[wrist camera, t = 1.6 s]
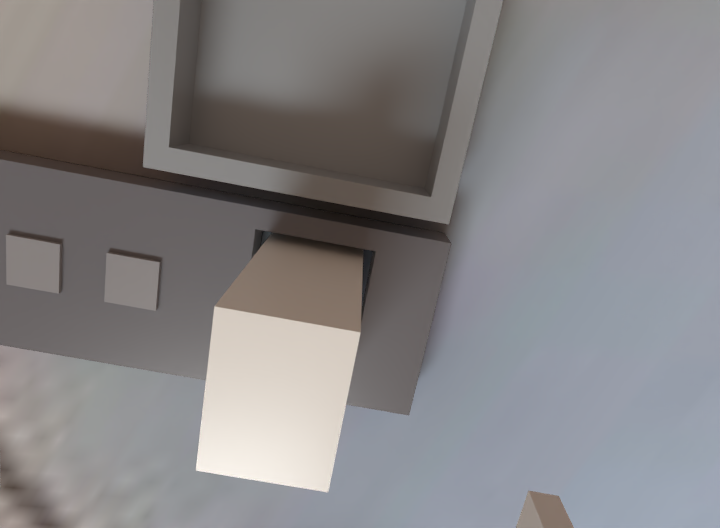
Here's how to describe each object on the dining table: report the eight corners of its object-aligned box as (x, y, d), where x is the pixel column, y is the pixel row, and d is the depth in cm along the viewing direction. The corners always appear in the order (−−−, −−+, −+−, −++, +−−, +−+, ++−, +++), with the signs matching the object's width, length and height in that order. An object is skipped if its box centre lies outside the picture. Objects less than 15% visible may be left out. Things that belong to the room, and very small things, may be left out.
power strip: (-48, 315, 27) (-92, 336, 24) (-57, 139, 24) (-105, 142, 22) (406, 394, 27) (410, 422, 25) (444, 233, 25) (453, 246, 22)
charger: (257, 341, 27) (195, 470, 17) (272, 231, 25) (214, 306, 15) (342, 356, 27) (328, 492, 17) (363, 248, 25) (360, 332, 16)
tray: (169, 160, 24) (142, 167, 21) (195, -166, 20) (167, -211, 18) (439, 211, 25) (449, 224, 22) (512, -98, 21) (535, -131, 18)
